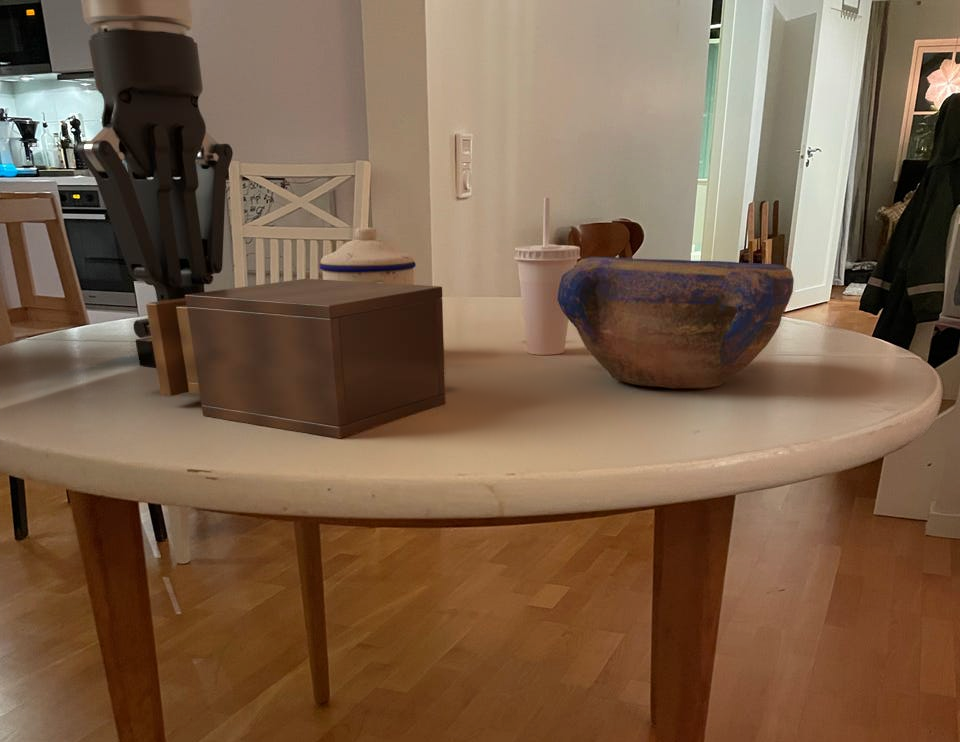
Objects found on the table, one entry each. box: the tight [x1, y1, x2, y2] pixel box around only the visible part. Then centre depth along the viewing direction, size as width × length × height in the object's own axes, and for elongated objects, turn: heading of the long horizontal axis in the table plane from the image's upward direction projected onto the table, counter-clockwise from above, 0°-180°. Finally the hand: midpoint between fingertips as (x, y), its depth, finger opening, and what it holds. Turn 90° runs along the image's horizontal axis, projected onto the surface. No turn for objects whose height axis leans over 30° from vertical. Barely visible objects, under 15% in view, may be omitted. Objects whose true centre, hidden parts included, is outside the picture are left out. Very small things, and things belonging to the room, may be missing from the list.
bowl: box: [557, 256, 795, 390], centre depth 77 cm, size 18×18×10 cm
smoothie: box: [513, 196, 582, 356], centre depth 89 cm, size 6×6×14 cm
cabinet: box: [185, 278, 446, 439], centre depth 69 cm, size 14×13×9 cm
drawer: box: [133, 298, 200, 397], centre depth 73 cm, size 18×11×7 cm, turn 57°
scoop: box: [134, 337, 157, 368], centre depth 90 cm, size 8×4×3 cm, turn 147°
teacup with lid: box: [319, 227, 417, 285], centre depth 87 cm, size 12×9×12 cm
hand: (191, 368), depth 77 cm, fingers closed
